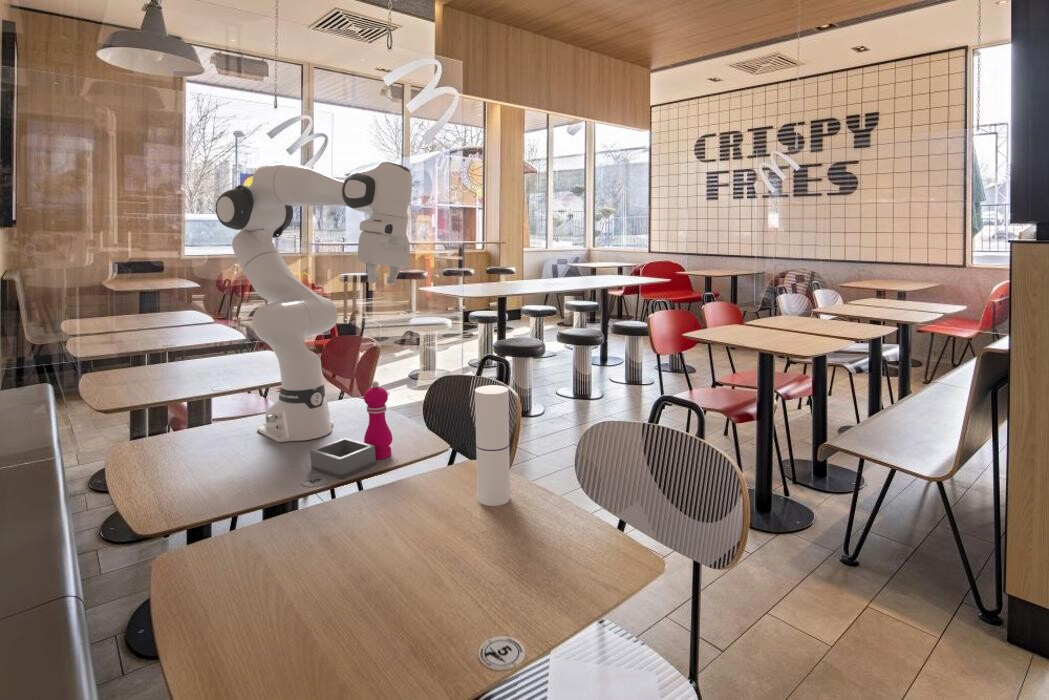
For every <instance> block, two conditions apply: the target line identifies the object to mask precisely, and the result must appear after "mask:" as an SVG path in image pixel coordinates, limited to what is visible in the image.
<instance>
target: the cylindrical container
mask: <svg viewBox="0 0 1049 700" xmlns="http://www.w3.org/2000/svg"><path fill="white" fill-rule="evenodd" d="M509 395H510V393H509V388H508V387H506V386H503V385H492V384H489V385H482V386H478V387H476V388H474V404H475V405H474V406H475V409H474V410H475V411H474V412H475V443H476V444H475V447H476V450H475V451H476V453H475V454H476V481H477V482H476V487H477V488H476V489H477V501H478V503H479V504H481V505H483V506H489V507H498V506H503V505H505V504H507V503H509V502H510V500H511V485H510V484H511V482H510V481H511V480H510V476H511V475H510V468H511V467H510V414H509V413H510V407H509V405H510V403H509V401H510V399H509Z"/></svg>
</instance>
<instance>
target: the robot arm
mask: <svg viewBox="0 0 1049 700" xmlns="http://www.w3.org/2000/svg"><path fill="white" fill-rule="evenodd" d="M412 190H413V177H412V172H411V170H410V169H409V168H408V167H407V166H405V165H402V164H399V163H397V162H394V161H392V160H391V161H390V160H381V161H380V162H379V163H378V164H377V165H375V166H374V167H372V168H369V169H366V170H361V171H356V172H352V173H350V174H348V175H347V176H346V178H344V181H343V180H340V179H337V178H334V177H332V176H329V175H327V174H325V173H322V172H320V171H317V170H316V169H315V170H314V169H312V168H310V167H306V166H304V165H299V164H293V163H271V164H270V163H269V164H265V165H262V166H260V167H258V168H257V169H256V170H255V172H254V173H253V176H252V182H251V184H250V185H249V186H245V185H243V184H239V185H237V186H236V187H234V188H233V189H229V190H227V191H224V192H223V193H222V194H220V196H219V197H218V198H217V200H216V204H215V214H216V217H217V220H218V221H219V223H221V225H223V226H224V227H226V228H227V229H228V228H229V229H232V230H235V231H236V230H237V231H239V232H237V234H235V236H234V237H233V239H232V241H231V246H232V247H231V248H232V249H233V253H234V256H235V258H236V260H237V262H238V265H239V267H240V268H241V270H242V272H243V273H244V275H245V277H246V278H247V280H248V281H249V283H250V285H251V287H252V288H253V290H254V291H255V293H256V294H257V295H258V296H259V297H261V298H262V299H264V300H266V301H269V302H270V303H268V304H264V305H263V306H260V307H259V308H257V309H255V310H254V313H253V316H252V321H251V323H252V325H251V326H252V330H253V331H254V333H255V335H256V337H258V338H259V340H261V341H262V342H265V343H266V344H267V345H268V346H269V347H270V349H272V351H273V353H274V355H275V357H276V359H277V362H278V367H279V374H280V382H281V386H279V387H277V388H276V393H278V392H279V394H278V399H277V401H275V402H274V403H273V404H272V405H271V406H269V408H267V410H266V411H265V423H263V424H261V425H260V426H258V427H257V432H258V431H259V433H261V434H262V435H265V437H268V438H269V439H271V440H273V441H275V442H277V443H284V442H293V441H295V442H298V441H299V442H300V441H301V442H302V441H309V440H315V439H319V438H321V437H325V436H327V435H329V434H330V433H332V432H333V428H332V427H333V426H334V421H333V420H331V416H330V410H329V405H328V400H327V399H326V398H325V396H326V387H325V384H324V383H323V373H322V372H323V371H322V361H321V357H320V356H319V355H318V354H317V353H315V352H313V351H311V350H309V348H308V347H307V345H306V341H305V338H308V337H311V336H317V335H321V334H323V333H325V332H327V331H329V330H332V329H333V328H334V327H335V326H336V324H337V322H338V318H339V315H338V309H337V307H336V305H335V303H334V302H333V301H332V300H331V299H329V298H327V297H324V296H321V295H319V294H318V293H316V291H313V290H312V289H310V288H309V287H308V286H306V285H305V283H303V282H302V281H300V280H299V278H298V277H297V276H295V274H294V272H292V271H291V270H292V269H291V268H290V267H289V266H288V264H287V263H286V261H285V260H284V259H283V257H282V255H281V253H279V251H278V249H277V248H276V247H275V244H274V242H273V238H275V239H276V238H278V237H281V236H282V234H283V232H284V231H285V230H287V229H288V227H289V226H290V225H291V223H292V221H293V217H294V208H293V207H317V206H319V207H321V206H344V207H349V208H351V209H352V210H355V211H357V212H361V213H366V214H371V217H369V218H368V219H365V220H362V221H360V223H359V230H360V231H361V232H360V234H359V237H358V245H357V258H358V262H359V263H364V264H366V270H367V274H368V276H367V277H368V278H367V282H368V283H369V284H370V283H371V284H377V283H378V279H379V276H378V275H377V270H378V265H380V266H386V267H388V266H389V270H390V272H389V274H388V276H387V278H386V283H387V284H389V285H396V281H397V277H398V276H399V274H400V270H401V268H402V269H403V268H405V269H406V268H408V266H409V263H410V255H411V254H410V253H411V252H410V251H411V250H410V248H411V245H410V244H411V243H410V241H409V237H408V236H407V230H408V223H409V222H408V221H409V214H408V209H409V206H410V203H411V197H412Z"/></svg>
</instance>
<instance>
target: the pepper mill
mask: <svg viewBox="0 0 1049 700" xmlns="http://www.w3.org/2000/svg"><path fill="white" fill-rule="evenodd" d="M379 384H380V383H379V382H378V381H376V380H375V381H373V382H372V383H371V387H370V388H368V389H366V390H365V392H364V394H363V401H364V402H365V404H366V405H367V406H366V412H367V413H368V425H367V429H366V430H365V432H364V433H365V434H364V439H363V443H367V444H370V445H374V446H375V459H376V460H382V459H383V460H384V459H388V458H389V457H391V455H392V447H391V446H390V445H391V444H392V442H393V433H392V431H391V429H390V427H389V426H388V423H387V420H386V411H387V404H386V403H387V402H388V399H389V396H388V392H387V390H386V389H385V388H383V387H381V386H379Z"/></svg>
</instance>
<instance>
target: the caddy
mask: <svg viewBox="0 0 1049 700" xmlns="http://www.w3.org/2000/svg"><path fill="white" fill-rule="evenodd" d="M309 455H310V456H309V457H310V466H311V468H310V469H311V470H312V471H315V472H318V473H321V474H324V475H326V476H331V477H334V478H337V479H339V480H343V479H345V478H347V477H351V476H353V475H354V474H357V473H359V472H361V471H364V470H366V469H369V468H371V467H373V466H375V465H376V464H377V461H376V460H377V459H375V446H374V445H370V444H367V443H364V441H359V440H355V439H351V438H349V437H343V438H340V439H337V440H336V441H332V442H329V443H326V444H324V445H322V446H318V447H316V448H312V449H311V450H309Z"/></svg>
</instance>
